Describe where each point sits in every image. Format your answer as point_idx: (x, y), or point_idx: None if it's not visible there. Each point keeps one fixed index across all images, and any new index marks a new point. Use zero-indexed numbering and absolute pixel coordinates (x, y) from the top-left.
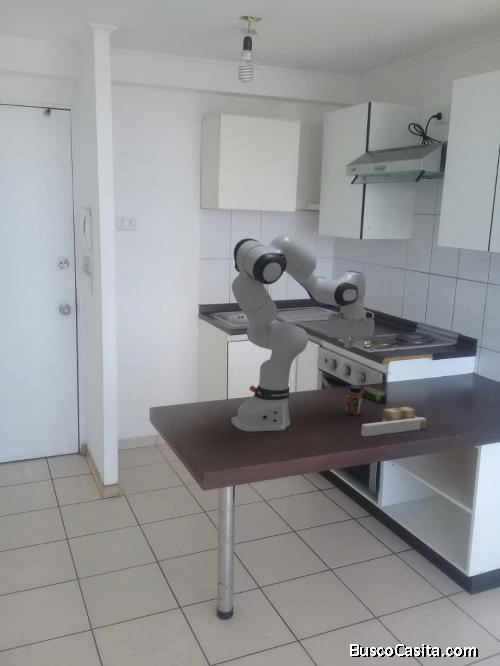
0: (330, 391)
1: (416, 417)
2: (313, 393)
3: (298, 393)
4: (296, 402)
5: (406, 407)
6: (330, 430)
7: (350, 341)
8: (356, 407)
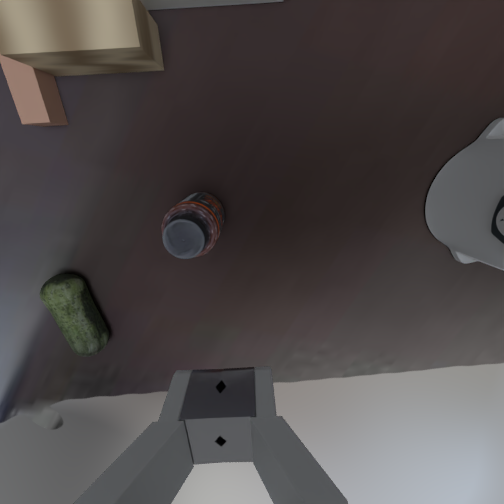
0: None
1: None
2: None
3: None
4: (313, 323)
5: (17, 44)
6: (359, 79)
7: (177, 484)
8: (200, 195)
